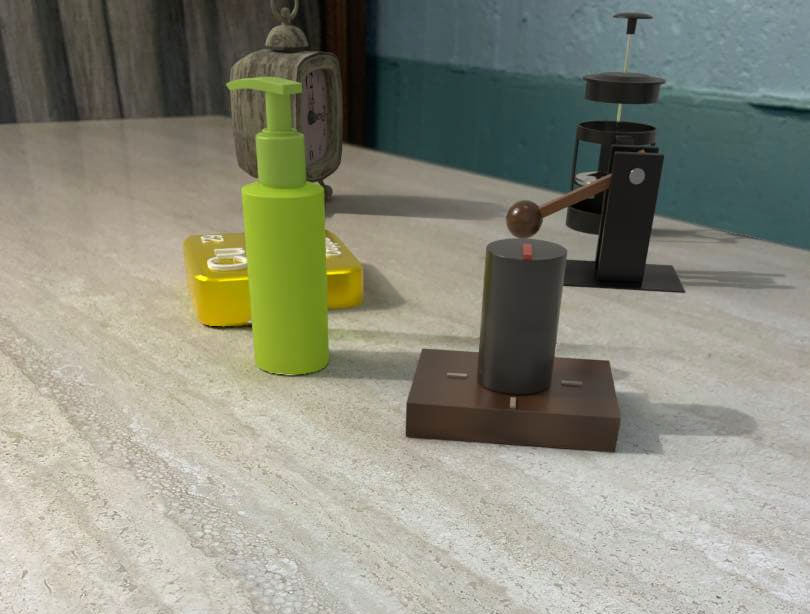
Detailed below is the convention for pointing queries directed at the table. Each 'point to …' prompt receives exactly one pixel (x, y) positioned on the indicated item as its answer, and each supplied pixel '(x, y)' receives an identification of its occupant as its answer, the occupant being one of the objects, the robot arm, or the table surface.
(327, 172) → the tabletop clock
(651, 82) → the french press
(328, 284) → the element tile
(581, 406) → the panel
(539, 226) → the lever
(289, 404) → the table surface
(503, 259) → the knob
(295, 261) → the soap dispenser
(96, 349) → the table surface
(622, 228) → the bracket
